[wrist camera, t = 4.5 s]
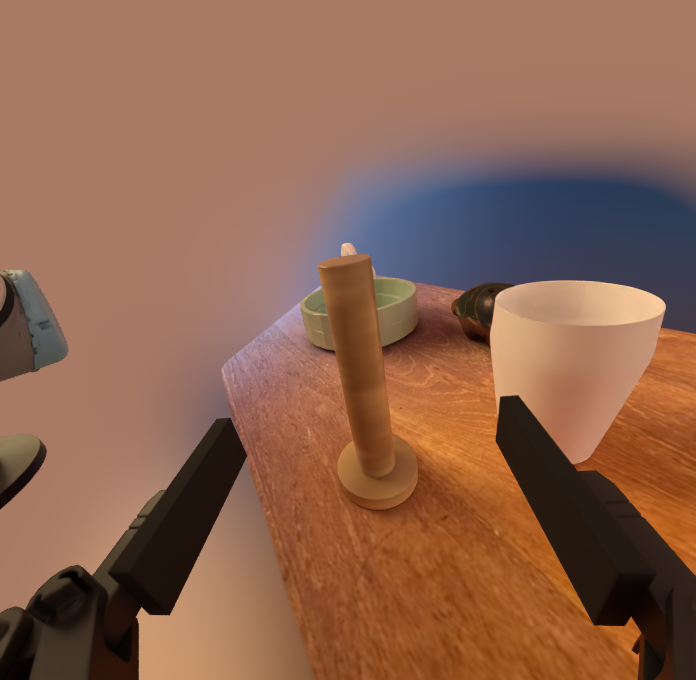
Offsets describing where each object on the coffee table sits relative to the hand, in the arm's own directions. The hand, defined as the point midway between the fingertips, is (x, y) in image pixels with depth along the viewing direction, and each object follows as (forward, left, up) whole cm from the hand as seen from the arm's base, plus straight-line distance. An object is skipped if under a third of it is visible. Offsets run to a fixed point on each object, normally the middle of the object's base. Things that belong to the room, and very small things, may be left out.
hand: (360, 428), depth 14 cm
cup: (+10, +13, -10) cm, 19 cm away
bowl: (-15, +32, -10) cm, 37 cm away
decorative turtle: (+6, +31, -10) cm, 33 cm away
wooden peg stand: (-2, +5, -10) cm, 11 cm away
